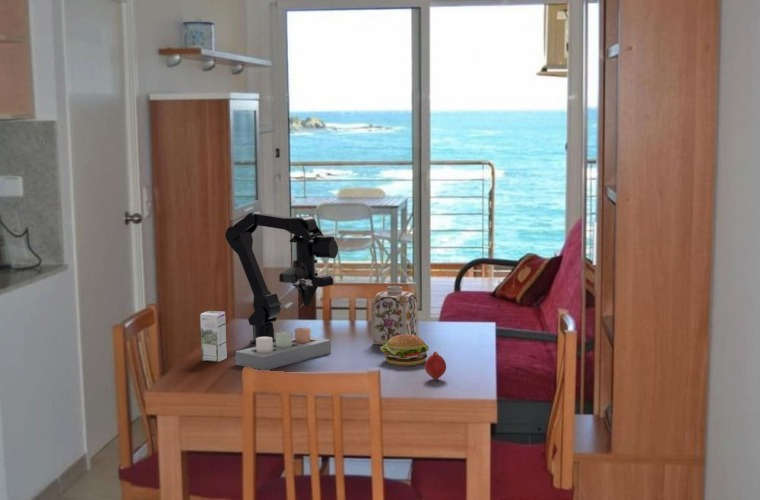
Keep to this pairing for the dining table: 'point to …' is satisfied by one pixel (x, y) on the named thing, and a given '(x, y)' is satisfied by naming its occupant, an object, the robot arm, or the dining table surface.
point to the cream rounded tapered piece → (264, 345)
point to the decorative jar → (394, 314)
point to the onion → (435, 366)
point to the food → (405, 350)
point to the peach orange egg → (302, 335)
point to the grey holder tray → (283, 354)
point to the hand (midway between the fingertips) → (306, 306)
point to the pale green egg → (283, 340)
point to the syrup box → (213, 336)
